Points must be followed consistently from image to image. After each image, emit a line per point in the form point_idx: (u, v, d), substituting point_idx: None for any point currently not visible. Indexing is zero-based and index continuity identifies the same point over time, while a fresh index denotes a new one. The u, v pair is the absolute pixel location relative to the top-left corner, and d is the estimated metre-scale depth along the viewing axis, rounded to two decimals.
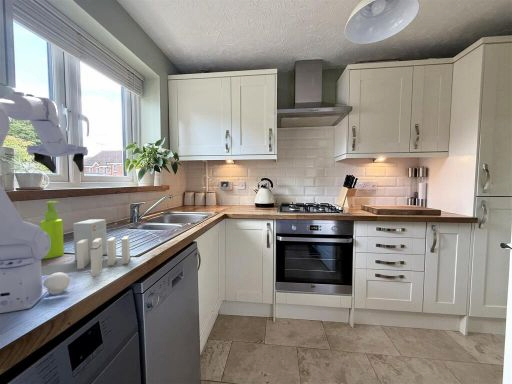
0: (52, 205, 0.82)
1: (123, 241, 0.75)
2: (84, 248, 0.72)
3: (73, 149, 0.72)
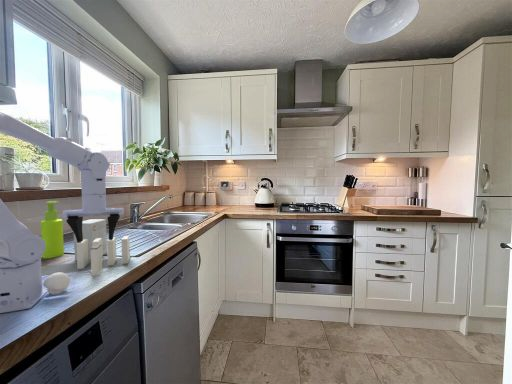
0: (52, 205, 0.82)
1: (123, 241, 0.75)
2: (84, 248, 0.72)
3: None
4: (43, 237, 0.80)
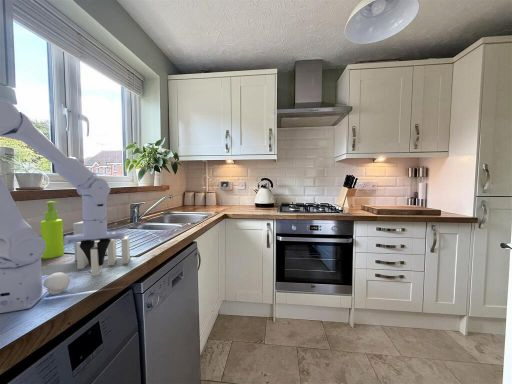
0: (52, 205, 0.82)
1: (123, 241, 0.75)
2: None
3: (111, 233, 0.69)
4: (43, 237, 0.80)
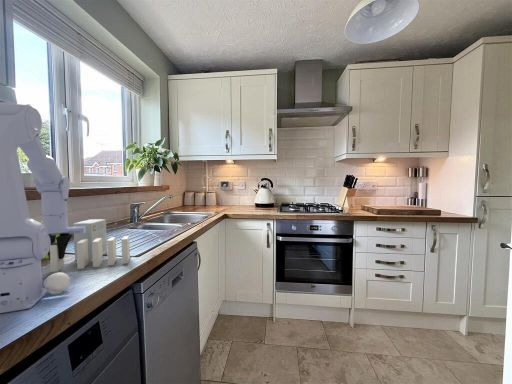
0: None
1: (123, 241, 0.75)
2: (84, 248, 0.72)
3: (71, 228, 0.71)
4: None
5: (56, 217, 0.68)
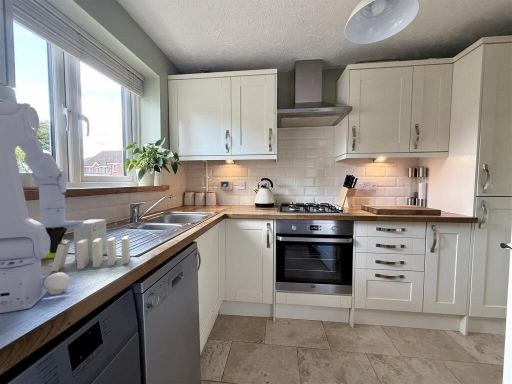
0: None
1: (123, 241, 0.75)
2: (84, 248, 0.72)
3: (69, 222, 0.71)
4: None
5: (54, 210, 0.68)
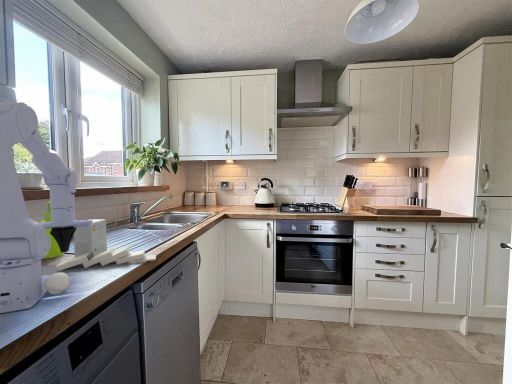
0: None
1: None
2: None
3: (79, 221, 0.72)
4: None
5: (64, 210, 0.68)
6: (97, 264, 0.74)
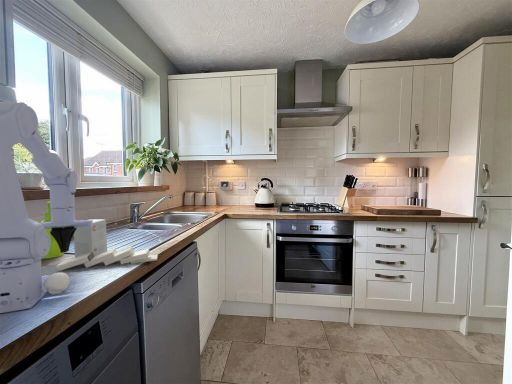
0: None
1: (154, 260, 0.78)
2: None
3: (79, 221, 0.72)
4: None
5: (64, 210, 0.68)
6: (97, 264, 0.74)
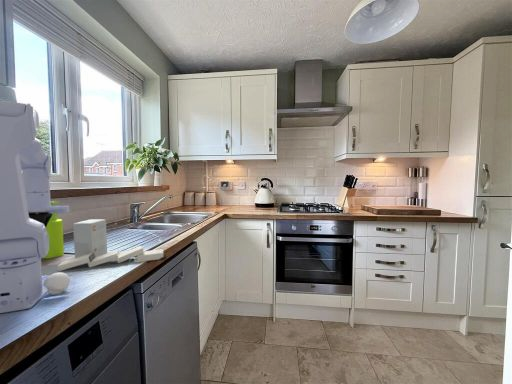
0: (52, 205, 0.82)
1: None
2: None
3: (54, 207, 0.70)
4: None
5: (38, 194, 0.66)
6: None
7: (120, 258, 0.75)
